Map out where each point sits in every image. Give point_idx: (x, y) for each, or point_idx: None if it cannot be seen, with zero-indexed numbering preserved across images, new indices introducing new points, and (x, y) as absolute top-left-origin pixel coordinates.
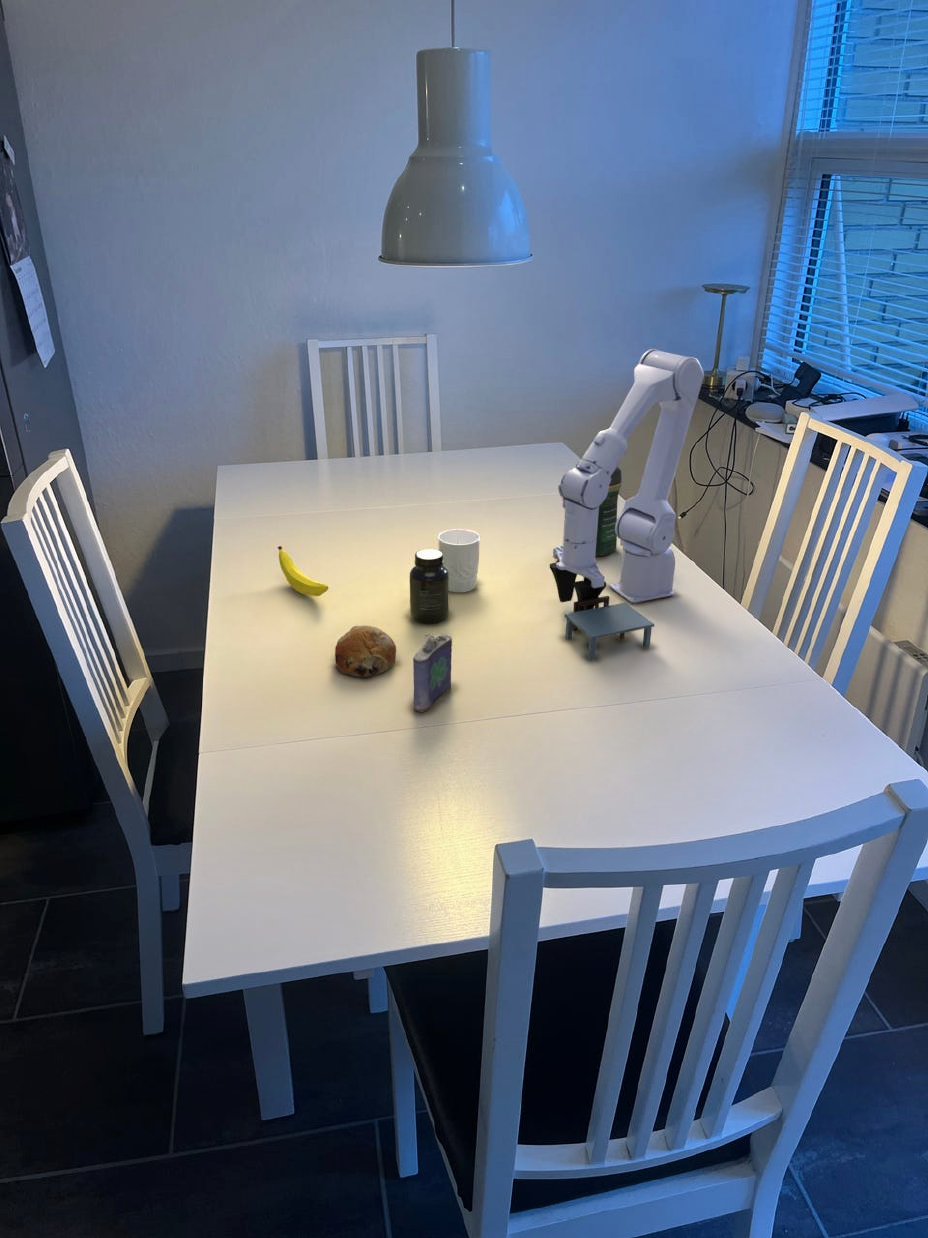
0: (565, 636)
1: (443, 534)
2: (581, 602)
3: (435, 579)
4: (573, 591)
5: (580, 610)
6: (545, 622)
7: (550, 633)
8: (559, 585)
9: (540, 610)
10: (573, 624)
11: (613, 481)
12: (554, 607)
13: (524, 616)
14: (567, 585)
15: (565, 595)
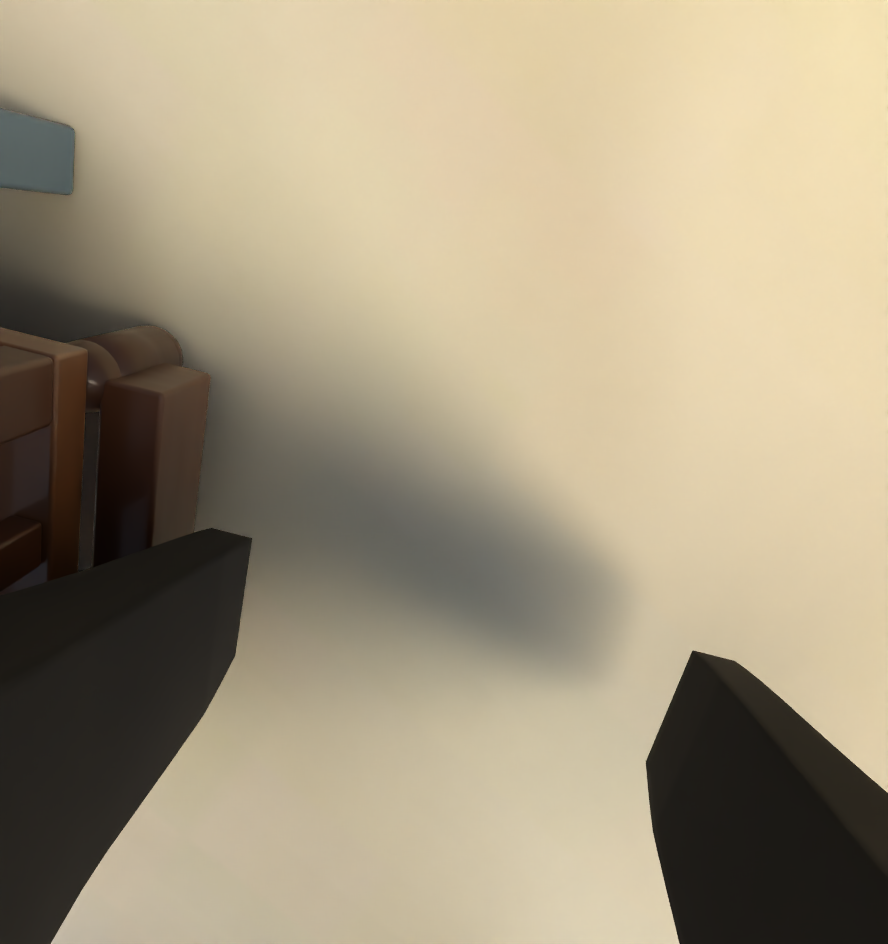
0: (56, 123)
1: None
2: None
3: None
4: (667, 886)
5: (130, 557)
6: (548, 219)
7: (272, 52)
8: (829, 825)
9: (837, 401)
10: (109, 335)
11: None
12: (765, 582)
13: (883, 88)
14: (747, 922)
15: (699, 757)
